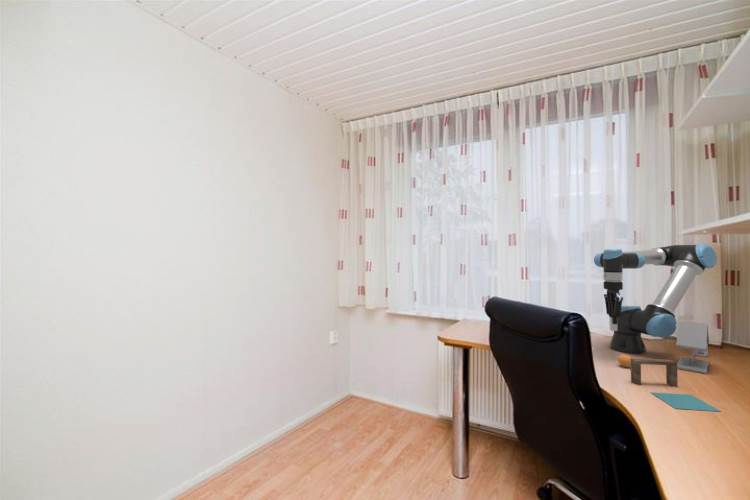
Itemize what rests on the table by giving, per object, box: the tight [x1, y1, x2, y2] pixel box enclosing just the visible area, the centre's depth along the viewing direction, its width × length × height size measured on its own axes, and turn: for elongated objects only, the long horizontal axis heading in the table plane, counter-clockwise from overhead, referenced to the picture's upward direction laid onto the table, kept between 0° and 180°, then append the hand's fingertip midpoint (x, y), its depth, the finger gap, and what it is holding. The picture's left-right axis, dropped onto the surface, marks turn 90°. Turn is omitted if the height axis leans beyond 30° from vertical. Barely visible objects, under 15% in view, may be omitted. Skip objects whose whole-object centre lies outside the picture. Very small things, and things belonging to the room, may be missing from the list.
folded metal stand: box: [675, 320, 711, 375], centre depth 152 cm, size 18×10×20 cm, turn 133°
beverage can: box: [695, 344, 709, 357], centre depth 169 cm, size 6×6×15 cm
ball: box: [617, 354, 633, 368], centre depth 152 cm, size 6×6×6 cm
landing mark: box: [650, 391, 722, 413], centre depth 117 cm, size 13×13×1 cm
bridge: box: [630, 358, 679, 387], centre depth 133 cm, size 3×14×9 cm, turn 80°
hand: (613, 330), depth 162 cm, fingers closed
